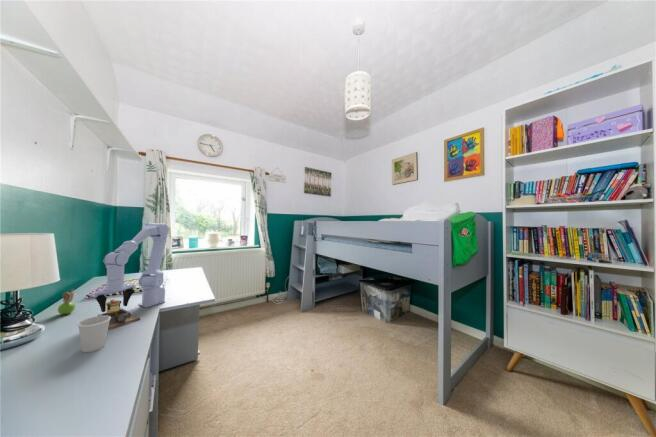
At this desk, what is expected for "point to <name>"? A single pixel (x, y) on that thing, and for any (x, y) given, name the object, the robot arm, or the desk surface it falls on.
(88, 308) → the desk surface
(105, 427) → the desk surface
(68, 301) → the snail figurine
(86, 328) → the dixie cup
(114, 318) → the board
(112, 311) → the cylinder
